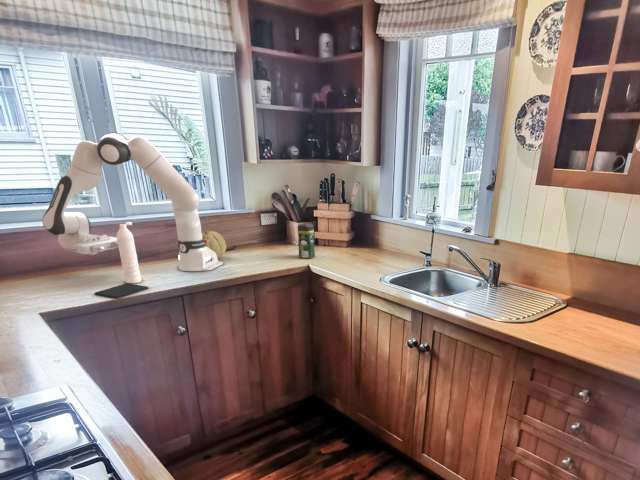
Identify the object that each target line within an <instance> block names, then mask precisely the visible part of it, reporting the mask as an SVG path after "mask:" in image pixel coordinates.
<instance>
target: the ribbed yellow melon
mask: <svg viewBox="0 0 640 480" xmlns="http://www.w3.org/2000/svg"><path fill="white" fill-rule="evenodd" d="M202 239H208V240H209V243H205V244H206V246H207V247H208V248H210V249H211V250H212V251H214V252H215V253H216V255H217V259H220V258H221V257H222V256H224V255H225V253H226V249H227V242H226V240H225V238H224V237H223V235H221V234H220V233H219V232H217V231H213V230H208V231H207V230H206V231H204V232H202Z"/></svg>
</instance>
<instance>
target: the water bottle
mask: <svg viewBox="0 0 640 480" xmlns="http://www.w3.org/2000/svg"><path fill="white" fill-rule="evenodd" d="M132 225H133V222H131V221H127V222H125V223H120V224H119V229H118V231H117V233H116V236H115V238H117V242H118V247H119V248H118V251H119V256H120V262H121V266H122V272H123V277H124V282H125V284H126V283H129V284H137V283H140V282H142V276H141V271H140V265H139V260H138V254H137V250H136V245H135V237H134V234H133V233H132V231H130V229H128V227H127V226H132Z"/></svg>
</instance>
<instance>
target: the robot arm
mask: <svg viewBox="0 0 640 480" xmlns="http://www.w3.org/2000/svg"><path fill="white" fill-rule="evenodd" d="M130 161H133V163H135V164H136V165H137V166H138V167H139V168H140V169H141V170H142V171H143V172H144V174H145V175H147V177H148V178H149V179H150V180H151V181H152V182H153V183H154V184H155V185H156V186H157V187H158V188H159V189H160V190H161V191H162V193H164V194H165V195H166V196H167V198H168V199H169V200H170V202H171V206H172V207H171V208H172V212H173V216H174V220H175V226H176V234H177V247H178V249H179V250H178V261H179V262H178V270H180V271H184V272H203V271H204V272H205V271H206V272H207V271H211V270H214V269H216V268H218V267H220V266H222V265H224V262H223V261H221V260H218V259H219V258H217V255H216V253H215V252H214V251H212V250H211V249H210V248H208V247H207V246H206V244H205V243H209V240H208V239H202V234H203V232H202V225H201V223H202V222H201V220H200V215H199V210H198V207H199V205H200V199H201V198H200V195H199V193H198V192H197V190H196V189H194V187H193V186H192V185H191V184H190V183H189V181H187V180H186V179H185V178H184V177H183V176H182V174H181V173H179V172H178V170H177V169H176V168H175V167H174V166H173V165H172V164H171V163H170V162H169V160H168V159H167V158H166V157H165V156H164V155H163V154H162V153H161V151H159V149H157V148H156V147H155V145H153V144H152V143H151V142H150V141H149V140H148V139H146V138H145V137H143V136H141V135H139V136H133V137H132V138H130V139H128V138H127V137H126V136H124V134H121V133H119V132H109V133H107V134H105V135H104V136H102V137H101V138H100V140H99V141H98V142H93V141H90V140H81V141H80V142H78V144H77V145H76V147H75V150H74V153H73V157H72V160H71V164H70V167H69V169H68V171H67V172H66V173H65V175H63V176H62V177H61V178H60V179H59V180H58V183H57V185H56V187H55V190H54V193H53V195H52V198H51V200H50V203H49V206H48V208H47V209H46V211H45V212H44V214H43V216H42V225H43V227H44V229H45V230H46V231H47V232H48V233H50V234H51V235H53V236H58V237H57V242H58V244H59V245H60V247H62V249H64V250H66V251H69V252H72V253H77V254H80V255H89V256H94V255H97V254H99V253H104V252H105V251H109V250H114V249H119V247H118V242H117V237H116V236H108V235H107V234H91V229H92V227H91V221H90V219H89V218H88V216H87V215H86V214H85V213H84V212H82V211H66V209H67V207H68V204H69V201H70V200H71V198H72V197H73V196H74V195H76V194H79V193H81V192H85V191H89V190H92V189H94V188H96V187H97V185H98V184H99V182H100V180H101V177H102V171H103V166H104V164H107V165H109V166H117V165H122V164H123V163H126V162H130ZM234 248H236V245H235V246H233V245H232V247H229V248H226V251H230V250H233V249H234ZM226 251H225V252H226Z"/></svg>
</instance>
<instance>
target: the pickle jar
mask: <svg viewBox="0 0 640 480" xmlns="http://www.w3.org/2000/svg"><path fill="white" fill-rule="evenodd" d="M297 234H298V258H299V259H303V260H304V259H305V260H307V259H312V258H314V257H315V256H316V253H315V251H316V250H315V235H314V234H315V228H314V224H313V223H312V222H304V223H301V224H299V225H297Z"/></svg>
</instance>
